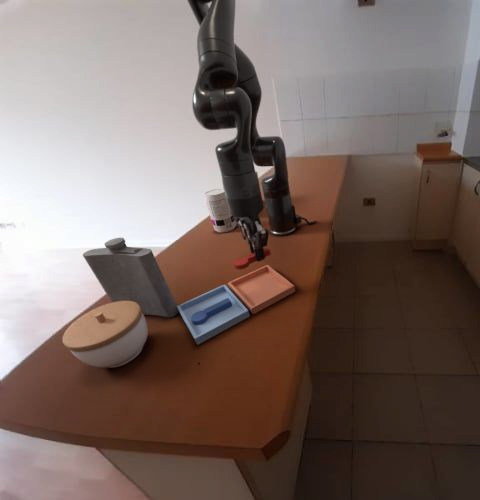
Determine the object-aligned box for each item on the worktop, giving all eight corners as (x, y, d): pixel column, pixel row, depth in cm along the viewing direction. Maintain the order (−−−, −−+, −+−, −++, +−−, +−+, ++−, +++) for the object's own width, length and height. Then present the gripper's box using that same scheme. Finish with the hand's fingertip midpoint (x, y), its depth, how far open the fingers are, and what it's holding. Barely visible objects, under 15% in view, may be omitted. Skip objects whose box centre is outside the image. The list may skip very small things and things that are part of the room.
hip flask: (116, 315, 69) (72, 245, 59) (128, 304, 73) (89, 237, 63) (174, 317, 67) (139, 245, 57) (183, 306, 70) (152, 236, 60)
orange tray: (268, 270, 82) (267, 264, 81) (295, 291, 73) (294, 285, 72) (229, 288, 76) (227, 282, 75) (253, 314, 66) (251, 308, 65)
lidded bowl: (103, 391, 51) (71, 350, 45) (76, 362, 57) (45, 324, 52) (169, 343, 60) (148, 304, 54) (139, 323, 66) (118, 286, 61)
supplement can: (210, 232, 108) (198, 195, 100) (224, 223, 114) (214, 188, 107) (226, 234, 105) (215, 196, 98) (240, 225, 112) (231, 189, 104)
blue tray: (226, 289, 75) (224, 284, 74) (249, 316, 66) (248, 310, 65) (179, 311, 69) (176, 306, 68) (197, 345, 59) (194, 338, 58)
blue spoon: (228, 300, 71) (226, 295, 70) (233, 307, 68) (232, 302, 67) (190, 319, 66) (188, 314, 65) (195, 327, 63) (192, 322, 62)
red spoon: (265, 251, 73) (264, 245, 72) (272, 256, 70) (271, 250, 70) (232, 265, 68) (230, 260, 67) (238, 271, 66) (236, 265, 65)
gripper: (273, 194, 59) (285, 262, 68) (245, 182, 68) (259, 243, 77) (240, 203, 55) (257, 275, 63) (215, 190, 64) (233, 254, 73)
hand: (258, 257), depth 70 cm, fingers closed on red spoon, 2 cm apart
